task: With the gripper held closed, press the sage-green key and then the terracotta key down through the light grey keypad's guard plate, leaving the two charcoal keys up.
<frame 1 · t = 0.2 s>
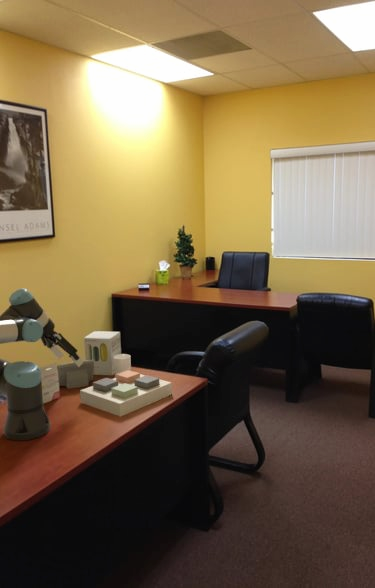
hand: (70, 360, 205), 16 cm above the table, tool tilted 35°, fingers open, 13 cm apart
key green: (124, 393, 197), point 5 cm above the table, slide at 0.0 cm
digital clock: (76, 385, 224), on the table
white cup: (122, 378, 231), on the table
keypad: (127, 398, 206), on the table
key charcoal b: (147, 385, 206), point 5 cm above the table, slide at 0.0 cm
ink cartridge box: (47, 400, 207), on the table
key charcoal a: (105, 387, 204), point 5 cm above the table, slide at 0.0 cm
supplement box: (104, 371, 242), on the table
key terracotta: (128, 379, 213), point 5 cm above the table, slide at 0.0 cm
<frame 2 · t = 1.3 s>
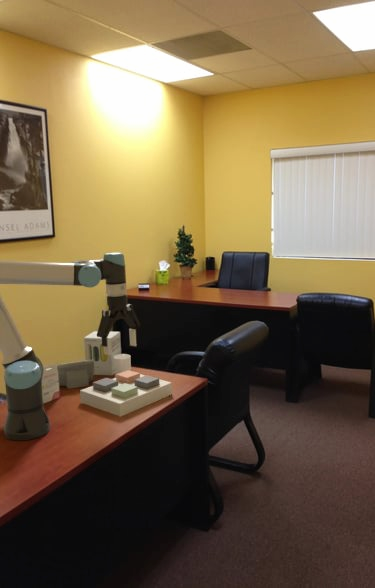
hand: (120, 350, 195), 22 cm above the table, tool pointing down, fingers open, 13 cm apart
nothing on the table moved.
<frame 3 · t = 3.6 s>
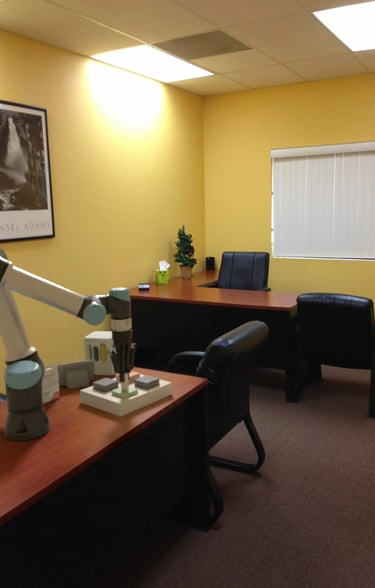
hand: (125, 389, 197), 7 cm above the table, tool pointing down, fingers closed
key green: (124, 396, 198), point 4 cm above the table, slide at 1.0 cm, touching gripper
everything else where it was.
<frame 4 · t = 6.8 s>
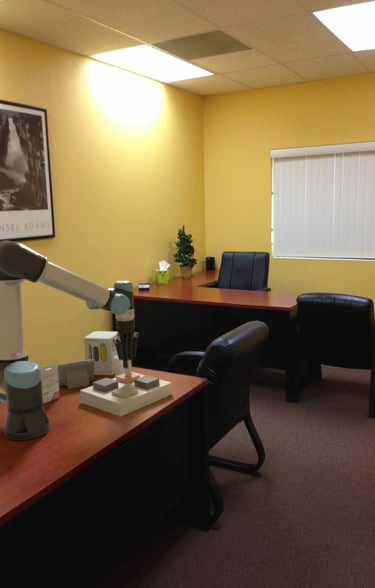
hand: (128, 374, 213), 7 cm above the table, tool pointing down, fingers closed
key green: (125, 396, 198), point 4 cm above the table, slide at 1.2 cm
key terracotta: (128, 381, 214), point 4 cm above the table, slide at 0.8 cm, touching gripper
everything else where it was.
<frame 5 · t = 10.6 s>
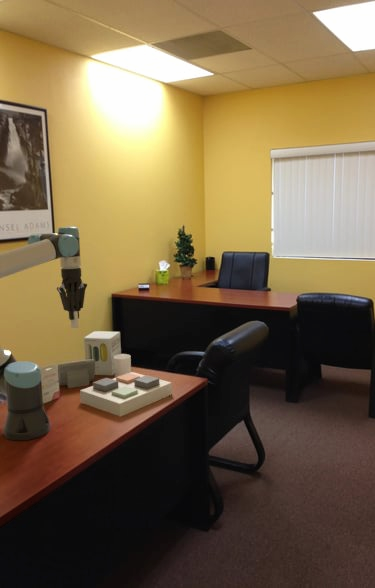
hand: (74, 327, 202), 29 cm above the table, tool pointing down, fingers closed
key terracotta: (128, 382, 214), point 4 cm above the table, slide at 1.2 cm
everything else where it was.
at the end: key green slide at 1.2 cm; key terracotta slide at 1.2 cm; key charcoal a slide at 0.0 cm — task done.
